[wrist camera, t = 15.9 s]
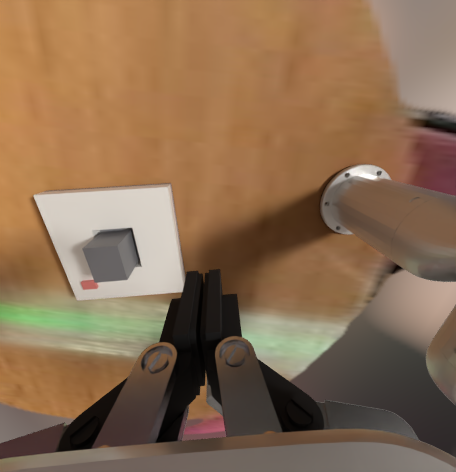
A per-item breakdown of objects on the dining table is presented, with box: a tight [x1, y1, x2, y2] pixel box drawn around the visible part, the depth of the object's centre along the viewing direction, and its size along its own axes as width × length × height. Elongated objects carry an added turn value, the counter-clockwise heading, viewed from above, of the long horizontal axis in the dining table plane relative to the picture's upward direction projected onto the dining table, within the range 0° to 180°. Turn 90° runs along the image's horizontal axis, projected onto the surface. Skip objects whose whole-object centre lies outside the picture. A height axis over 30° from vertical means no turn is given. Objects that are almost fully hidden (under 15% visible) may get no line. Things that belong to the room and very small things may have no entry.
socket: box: [33, 183, 185, 300], centre depth 39 cm, size 20×20×4 cm
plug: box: [82, 230, 139, 283], centre depth 37 cm, size 5×6×7 cm
